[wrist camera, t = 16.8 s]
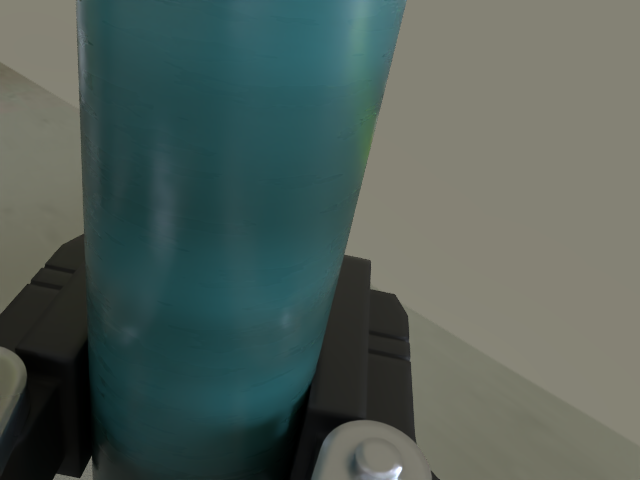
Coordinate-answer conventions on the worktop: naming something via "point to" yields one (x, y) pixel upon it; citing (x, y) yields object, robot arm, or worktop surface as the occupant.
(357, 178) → the peg on stand
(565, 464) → the worktop surface
